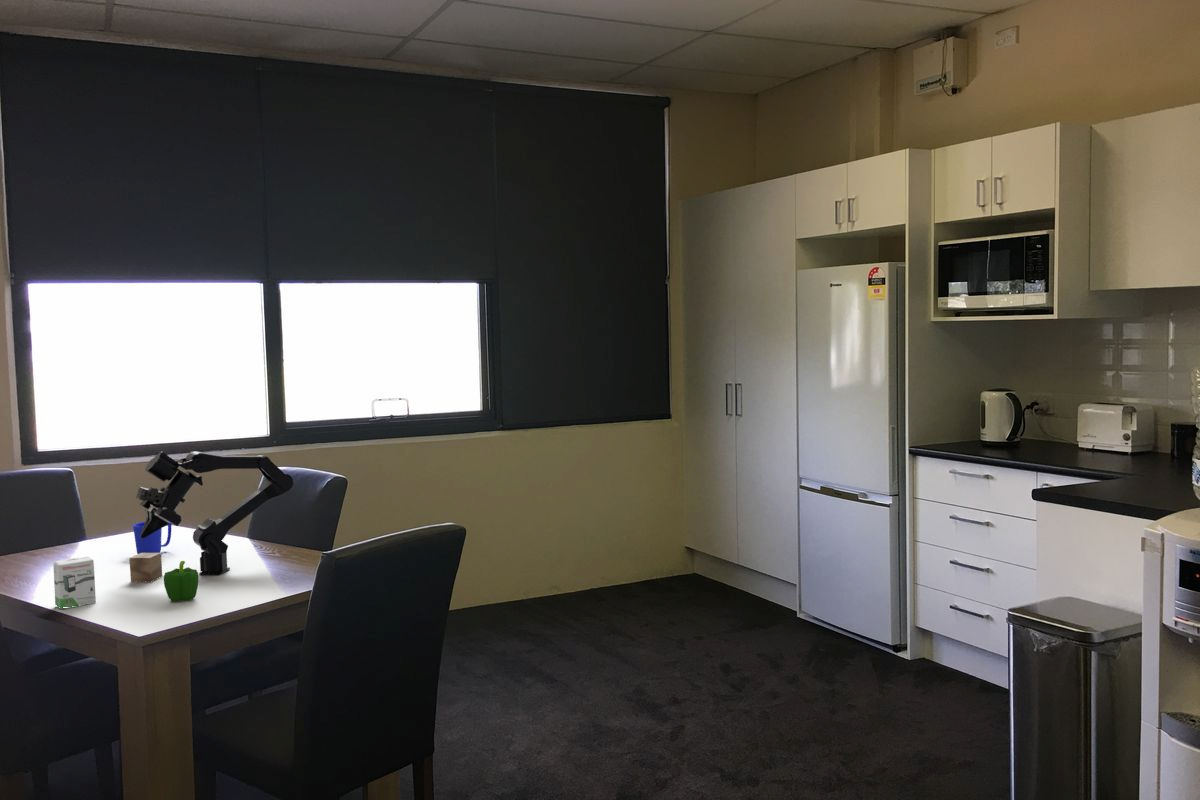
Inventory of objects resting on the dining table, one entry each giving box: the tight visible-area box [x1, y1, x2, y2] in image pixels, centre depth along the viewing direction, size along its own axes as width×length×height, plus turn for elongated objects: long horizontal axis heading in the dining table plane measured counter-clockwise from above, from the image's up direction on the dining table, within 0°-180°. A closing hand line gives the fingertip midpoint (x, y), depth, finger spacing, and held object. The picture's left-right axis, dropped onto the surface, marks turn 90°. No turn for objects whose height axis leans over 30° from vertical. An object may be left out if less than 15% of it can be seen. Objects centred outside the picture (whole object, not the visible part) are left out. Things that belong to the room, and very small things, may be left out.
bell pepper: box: [163, 560, 199, 603], centre depth 254 cm, size 8×8×10 cm
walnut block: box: [129, 552, 163, 583], centre depth 276 cm, size 6×6×7 cm
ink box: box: [53, 556, 97, 609], centre depth 251 cm, size 9×5×12 cm, turn 133°
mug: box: [132, 521, 172, 555], centre depth 307 cm, size 8×12×10 cm
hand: (141, 537), depth 269 cm, fingers closed
